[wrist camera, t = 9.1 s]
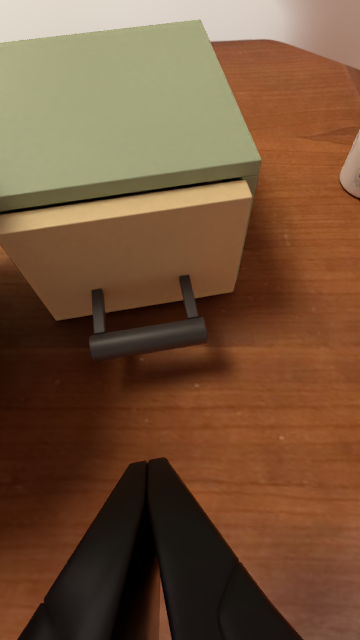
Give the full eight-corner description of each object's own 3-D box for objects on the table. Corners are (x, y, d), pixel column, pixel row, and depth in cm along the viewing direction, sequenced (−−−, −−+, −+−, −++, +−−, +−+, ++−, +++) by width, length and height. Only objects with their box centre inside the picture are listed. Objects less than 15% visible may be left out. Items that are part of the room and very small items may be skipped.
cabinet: (236, 283, 23) (262, 159, 15) (51, 313, 23) (-31, 201, 14) (197, 156, 30) (200, 19, 21) (52, 176, 29) (-4, 42, 21)
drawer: (251, 351, 20) (282, 272, 13) (56, 385, 19) (-18, 320, 13) (196, 165, 28) (198, 55, 21) (56, 185, 27) (10, 78, 20)
